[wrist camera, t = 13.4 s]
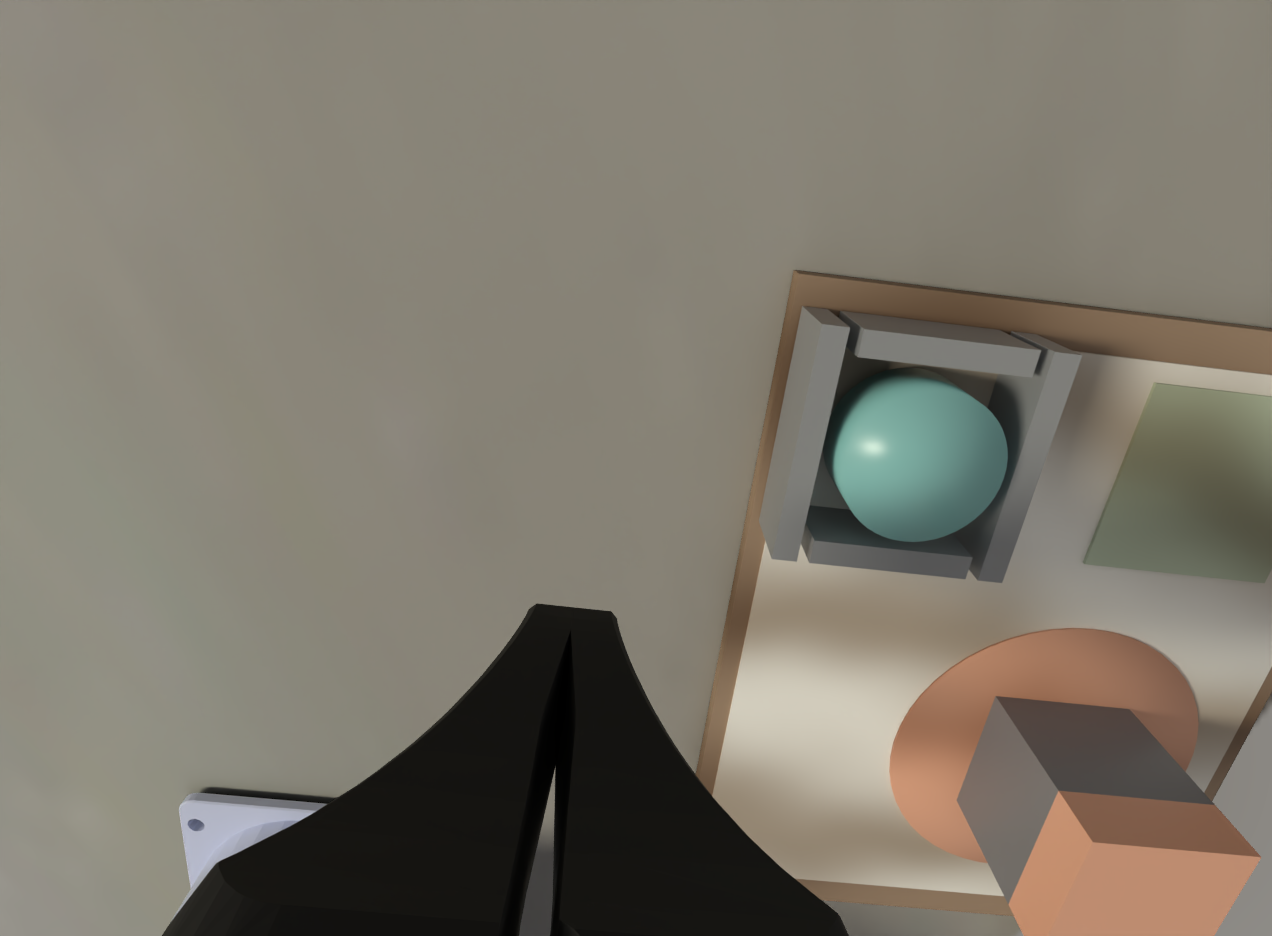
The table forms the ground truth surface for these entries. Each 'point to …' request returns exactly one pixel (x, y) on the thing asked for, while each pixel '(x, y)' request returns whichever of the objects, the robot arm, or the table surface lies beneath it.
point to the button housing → (1023, 362)
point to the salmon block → (1098, 825)
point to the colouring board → (1003, 602)
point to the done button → (914, 454)
